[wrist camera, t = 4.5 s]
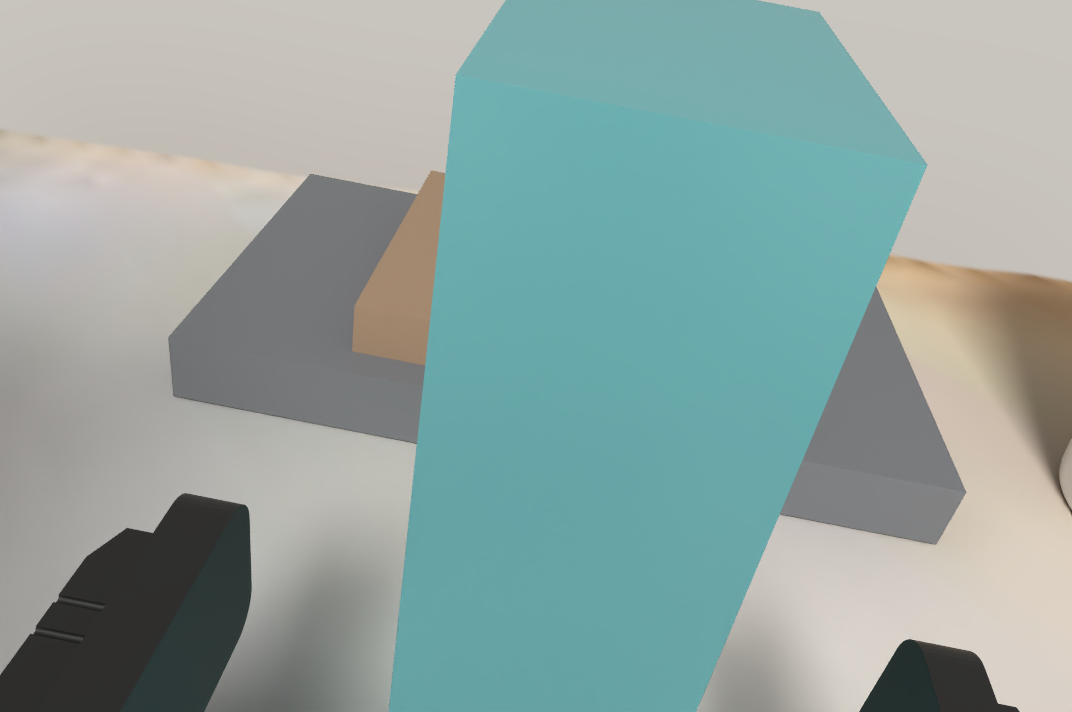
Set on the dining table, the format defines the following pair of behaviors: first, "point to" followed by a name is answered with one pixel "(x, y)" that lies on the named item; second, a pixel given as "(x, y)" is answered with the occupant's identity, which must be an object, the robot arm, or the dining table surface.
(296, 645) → the dining table surface
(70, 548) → the dining table surface
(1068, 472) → the candle holder
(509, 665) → the long teal prism
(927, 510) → the display stand
